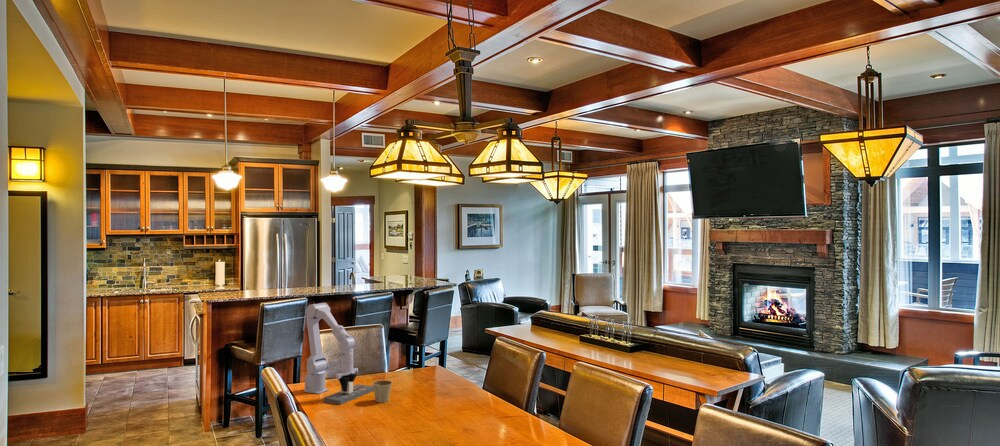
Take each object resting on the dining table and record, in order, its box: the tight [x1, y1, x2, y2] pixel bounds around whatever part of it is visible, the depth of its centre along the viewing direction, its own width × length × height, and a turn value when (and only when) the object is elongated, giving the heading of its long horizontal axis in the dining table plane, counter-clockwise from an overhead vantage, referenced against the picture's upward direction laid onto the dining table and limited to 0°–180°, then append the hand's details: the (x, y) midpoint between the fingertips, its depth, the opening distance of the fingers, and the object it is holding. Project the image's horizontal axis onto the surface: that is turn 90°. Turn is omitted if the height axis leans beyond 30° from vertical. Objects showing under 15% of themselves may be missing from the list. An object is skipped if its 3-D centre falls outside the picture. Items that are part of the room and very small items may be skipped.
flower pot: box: [371, 379, 393, 404], centre depth 272 cm, size 9×9×9 cm
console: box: [323, 383, 374, 406], centre depth 280 cm, size 10×26×2 cm, turn 157°
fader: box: [340, 381, 354, 394], centre depth 278 cm, size 5×3×5 cm, turn 67°
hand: (347, 390), depth 278 cm, fingers closed on fader, 3 cm apart
